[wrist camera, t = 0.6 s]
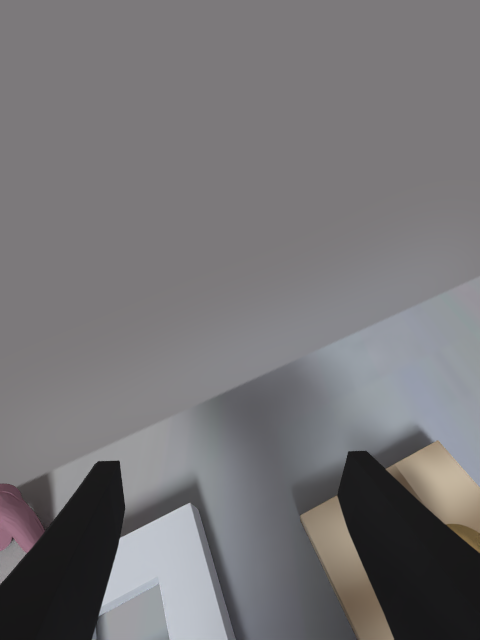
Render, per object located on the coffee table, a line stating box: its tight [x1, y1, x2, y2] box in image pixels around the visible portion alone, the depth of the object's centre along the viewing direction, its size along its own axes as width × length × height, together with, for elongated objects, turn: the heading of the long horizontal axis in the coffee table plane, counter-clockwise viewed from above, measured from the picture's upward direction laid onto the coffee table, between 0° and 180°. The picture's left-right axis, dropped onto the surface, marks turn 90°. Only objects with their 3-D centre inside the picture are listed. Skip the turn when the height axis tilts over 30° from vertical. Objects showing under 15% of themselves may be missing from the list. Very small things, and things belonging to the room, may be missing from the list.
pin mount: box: [300, 440, 480, 640], centre depth 20 cm, size 12×12×2 cm
